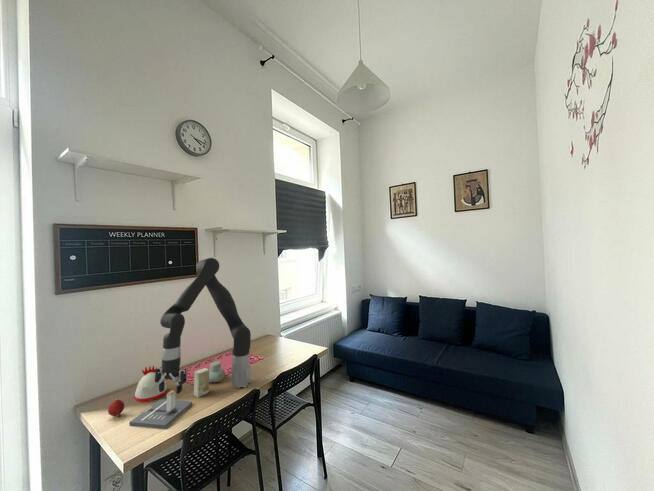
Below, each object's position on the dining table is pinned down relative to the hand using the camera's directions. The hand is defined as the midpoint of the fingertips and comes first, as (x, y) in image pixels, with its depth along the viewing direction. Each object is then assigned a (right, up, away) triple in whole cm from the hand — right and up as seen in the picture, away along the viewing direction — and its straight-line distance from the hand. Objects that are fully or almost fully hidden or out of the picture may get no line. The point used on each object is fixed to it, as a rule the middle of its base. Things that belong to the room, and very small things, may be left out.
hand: (170, 392), depth 122 cm
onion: (-24, -11, -1) cm, 26 cm away
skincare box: (+6, -11, +18) cm, 22 cm away
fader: (0, -8, 0) cm, 8 cm away
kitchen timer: (-20, -11, +17) cm, 29 cm away
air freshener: (+7, -12, +33) cm, 36 cm away
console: (-3, -10, 0) cm, 11 cm away
